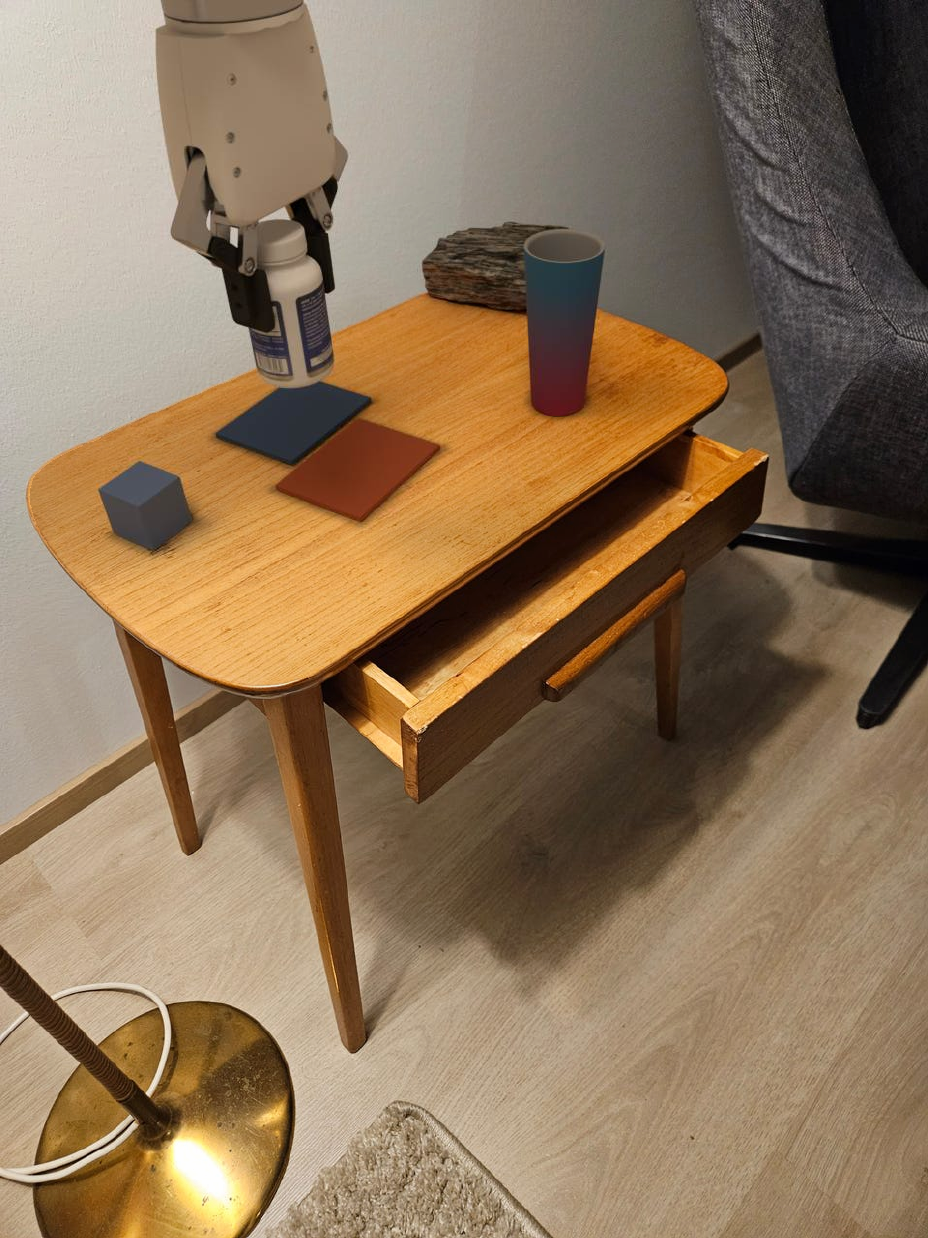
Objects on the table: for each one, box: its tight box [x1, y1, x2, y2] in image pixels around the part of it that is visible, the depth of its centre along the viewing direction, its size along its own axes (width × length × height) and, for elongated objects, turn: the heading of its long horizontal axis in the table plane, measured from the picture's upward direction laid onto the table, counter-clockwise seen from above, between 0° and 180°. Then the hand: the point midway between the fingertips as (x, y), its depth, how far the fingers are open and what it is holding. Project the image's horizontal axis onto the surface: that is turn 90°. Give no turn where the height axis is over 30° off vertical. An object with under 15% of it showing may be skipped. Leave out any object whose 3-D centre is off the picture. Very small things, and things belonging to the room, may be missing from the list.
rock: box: [421, 221, 570, 311], centre depth 105 cm, size 12×16×6 cm
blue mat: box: [214, 381, 372, 466], centre depth 90 cm, size 12×9×1 cm
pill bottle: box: [248, 218, 335, 388], centre depth 64 cm, size 5×5×10 cm
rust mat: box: [274, 417, 441, 523], centre depth 84 cm, size 12×9×1 cm
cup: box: [524, 228, 606, 417], centre depth 86 cm, size 7×7×15 cm
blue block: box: [97, 460, 193, 552], centre depth 77 cm, size 4×4×4 cm
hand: (285, 304), depth 64 cm, fingers closed on pill bottle, 5 cm apart
